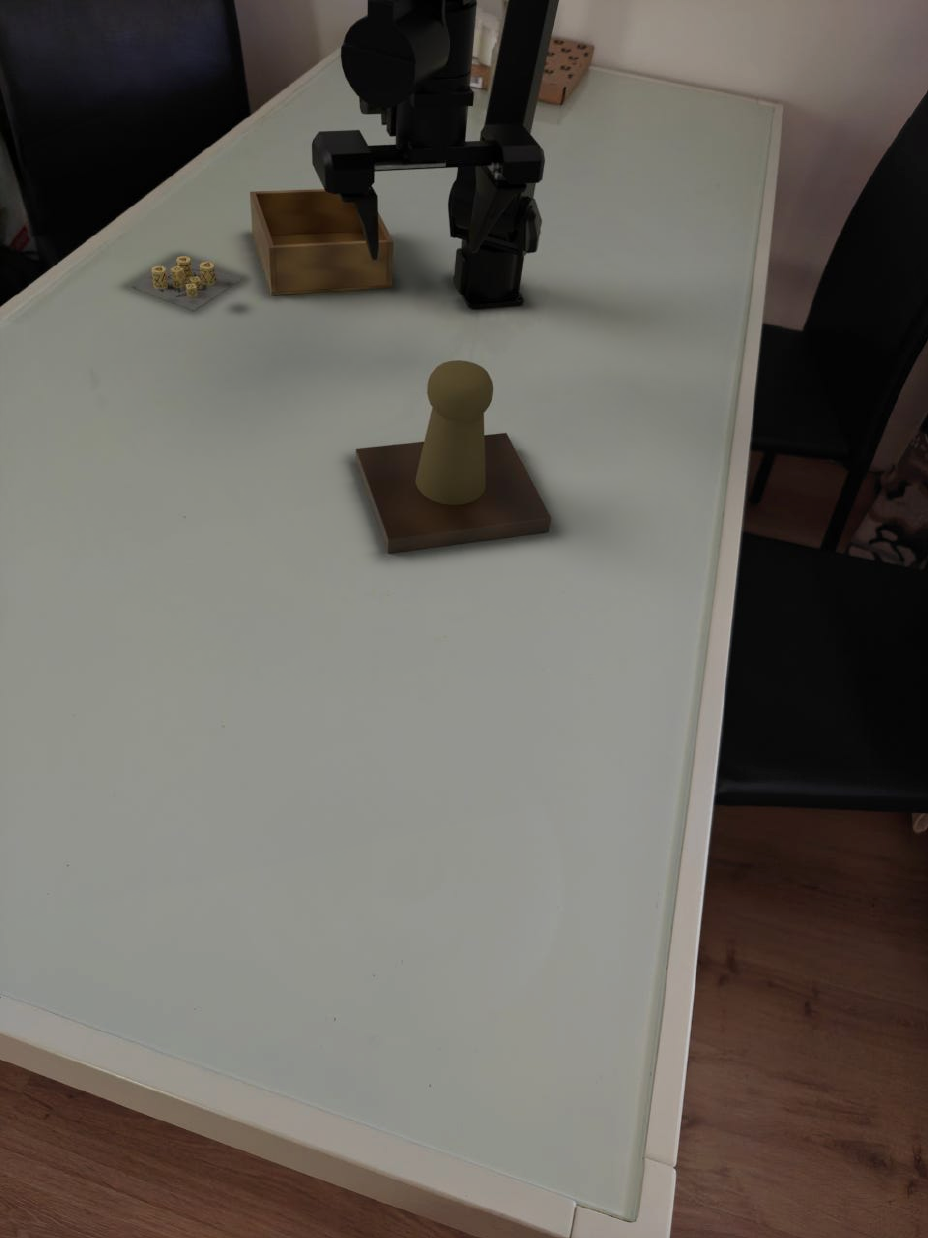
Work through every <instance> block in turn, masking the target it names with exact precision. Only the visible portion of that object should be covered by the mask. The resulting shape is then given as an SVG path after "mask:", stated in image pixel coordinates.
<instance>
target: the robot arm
mask: <svg viewBox="0 0 928 1238" xmlns="http://www.w3.org/2000/svg"><path fill="white" fill-rule="evenodd" d="M559 2H560V0H508V1H507V4H506V5H507V6H506V11H505V16H504V20H503V26H502V31H501V37H500V42H499V47H498V52H497V57H496V63H495V68H494V72H493V78H492V83H491V87H490V94H489V99H488V104H487V109H486V113H485V120H484V124H483V127H482V129H481V130H480V135H479V140H469V141H468V140H466V138H467V137H466V136H467V124H468V113H469V107H474V101H475V99H474V98H475V92H474V90H473V89H472V88H471V80H472V78H471V77H472V66H473V55H474V52H473V51H474V44H475V43H474V42H475V32H476V31H475V30H476V21H477V20H476V19H477V9H478V8H477V6H478V1H477V0H367V10H366V11H367V12H366V13H367V14H366V15H364V16H362V17H361V18H358V20H356V21H355V22H354V23H352V24H351V26H350V27H349V29H348V30H347V32H346V33H345V36H344V39H343V43H342V45H341V46H340V60H341V68H342V71H343V74H344V78H345V80H346V82H347V83H348V85H349V88H351V89H352V91H353V92H354V93H355V95H356V96H357V97H358V103H359V110H360V113H361V114H362V115H380V121H381V122H380V123H381V126H385V127H386V132H387V134H388V136H389V137H391V138H392V137H393V138H394V137H395V143H394V144H376V145H375V144H373V145H369V144H368V143H367V140H366V139H365V137H364V135H363V134H362V132H361V130H360V129H346V130H344V129H343V130H323V131H322V130H321V131H320V130H319V131H318V132H317V134H316V135H315V136H314V138H313V140H312V142H311V162H312V166H313V169H314V171H315V173H316V175H317V178H318V179H319V181H320V183H321V185H322V187H323V188H322V189H324V190H325V192H328V193H331V194H338V195H339V197H340V199H341V201H343V202H345V203H353V204H354V207H355V209H356V212H357V215H358V218H359V221H360V224H361V227H362V231H363V234H364V237H365V240H366V243H367V247H368V250H369V253H370V256H371V258H372V260H377V257H378V250H379V231H378V212H379V198H378V193H377V192H376V191H375V189H374V187H373V185H374V184H375V180H376V178H375V177H376V172H396V171H412V170H432V169H451V168H457V171H456V177H455V180H454V181H453V182H452V185H451V188H450V190H449V195H448V200H447V212H448V223H449V224H448V225H449V236H450V237H451V238H452V239H456V238H457V239H460V240H461V244H460V245H461V247H458V248H457V249H456V251H455V261H454V272H453V276H452V281H453V285H454V287H455V289H456V290H457V292H458V294H459V295H460V296H461V297H462V299H463V301H464V302H465V304H466V306H467V308H470V309H477V308H478V309H479V308H492V307H505V306H506V307H507V306H508V307H509V306H520V305H524V304H525V297H524V296H523V295H522V293H521V292H520V288H521V282H522V274H523V269H524V262H525V257H526V255H527V254H533V253H535V254H536V252H537V251H538V247H539V242H540V236H541V233H542V230H541V229H542V224H543V219H542V216H541V213H540V209H539V207H538V203H537V201H536V199H535V198H534V196H535V191H536V184H539V183H540V182H541V181H543V178H544V172H545V171H544V170H545V164H546V157H545V151H544V149H543V147H542V146H541V145H540V144H539V143H538V141H536V139H535V137H534V136H533V135H532V134H531V133H532V128H533V123H534V119H535V115H536V110H537V105H538V100H539V95H540V91H541V86H542V81H543V77H544V73H545V68H546V63H547V59H548V54H549V51H550V44H551V40H552V36H553V31H554V26H555V22H556V17H557V12H558V7H559Z"/></svg>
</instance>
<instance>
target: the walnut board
mask: <svg viewBox="0 0 928 1238" xmlns="http://www.w3.org/2000/svg"><path fill="white" fill-rule="evenodd" d="M484 436H485V475H486V485H485V490H484V492H483V494H482V495H481V496H480V497H479V498H477V499H476V500H475V501H472V502H469V503H466V504H460V505H448V504H441V503H438V502H435V501H432V500H431V499H429V498H427V497H426V496H424V495H423V494H422V493H421V492H420V491H419V489H418V488H417V485H416V482H415V481H416V475H417V470H418V466H419V462H420V458H421V454H422V449H423V445H424V441H415V442H408V443H407V442H406V443H398V444H397V443H396V444H389V445H388V444H387V445H379V446H372V447H371V446H370V447H362V448H361V447H360V448H355V464H356V468H357V470H358V473H359V476H360V479H361V482H362V485H363V488H364V490H365V493H366V496H367V499H368V502H369V504H370V507H371V510H372V513H373V515H374V518H375V521H376V524H377V527H378V530H379V533H380V535H381V538H382V541H383V544H384V546H385V549H386V552H387V554H394V553H401V552H409V551H415V550H424V549H430V548H431V549H432V548H439V547H445V546H446V547H447V546H453V545H461V544H469V543H475V542H482V541H490V540H497V539H504V538H511V537H519V536H525V535H526V536H527V535H534V534H535V535H536V534H541V533H542V534H543V533H549V532H550V529H551V523H552V517H551V514H550V513H549V511H548V508H547V507H546V505H545V502H544V501H543V499H542V497H541V496H540V493H539V492H538V490H537V488H536V486H535V484H534V483H533V480H532V478H531V477H530V475H529V472H528V471H527V469H526V467H525V465H524V463H523V462H522V459H521V458H520V456H519V454H518V452H517V450H516V448H515V446H514V444H513V442H512V440H511V438H510V437H509V435H508V433H507V432H501V433H492V434H484Z"/></svg>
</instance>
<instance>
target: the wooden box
mask: <svg viewBox="0 0 928 1238" xmlns="http://www.w3.org/2000/svg"><path fill="white" fill-rule="evenodd" d="M249 201H250V202H249V203H250V214H251V233H252V239H253V243H254V245H255V249H256V252H257V255H258V258H259V261H260V264H261V267H262V270H263V273H264V277H265V279H266V283H267V286H268V289H269V292H270V295H271V296H282V295H298V294H313V293H314V294H315V293H329V292H344V291H346V292H347V291H360V290H361V291H362V290H374V289H375V290H376V289H377V290H378V289H391V288H392V287H393V264H394V244H395V243H394V240H393V238H392V236H391V234H390V232H389V230H388V228H387V226H386V224H385V222H384V221H383V219H382V216H381V214H380V212H379V211H378V231H379V250H378V257H377V260H372V258H371V256H370V253H369V250H368V247H367V243H366V240H365V237H364V234H363V231H362V227H361V224H360V221H359V218H358V215H357V212H356V209H355V207H354V204H353V203H345V202H343V201H341V199H340V197H339V195H338V194H331V193H328V192H325V190H324V188H316V189H315V188H314V189H313V188H312V189H287V190H283V189H282V190H260V191H259V190H255V191H254V190H253V191H249Z"/></svg>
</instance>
